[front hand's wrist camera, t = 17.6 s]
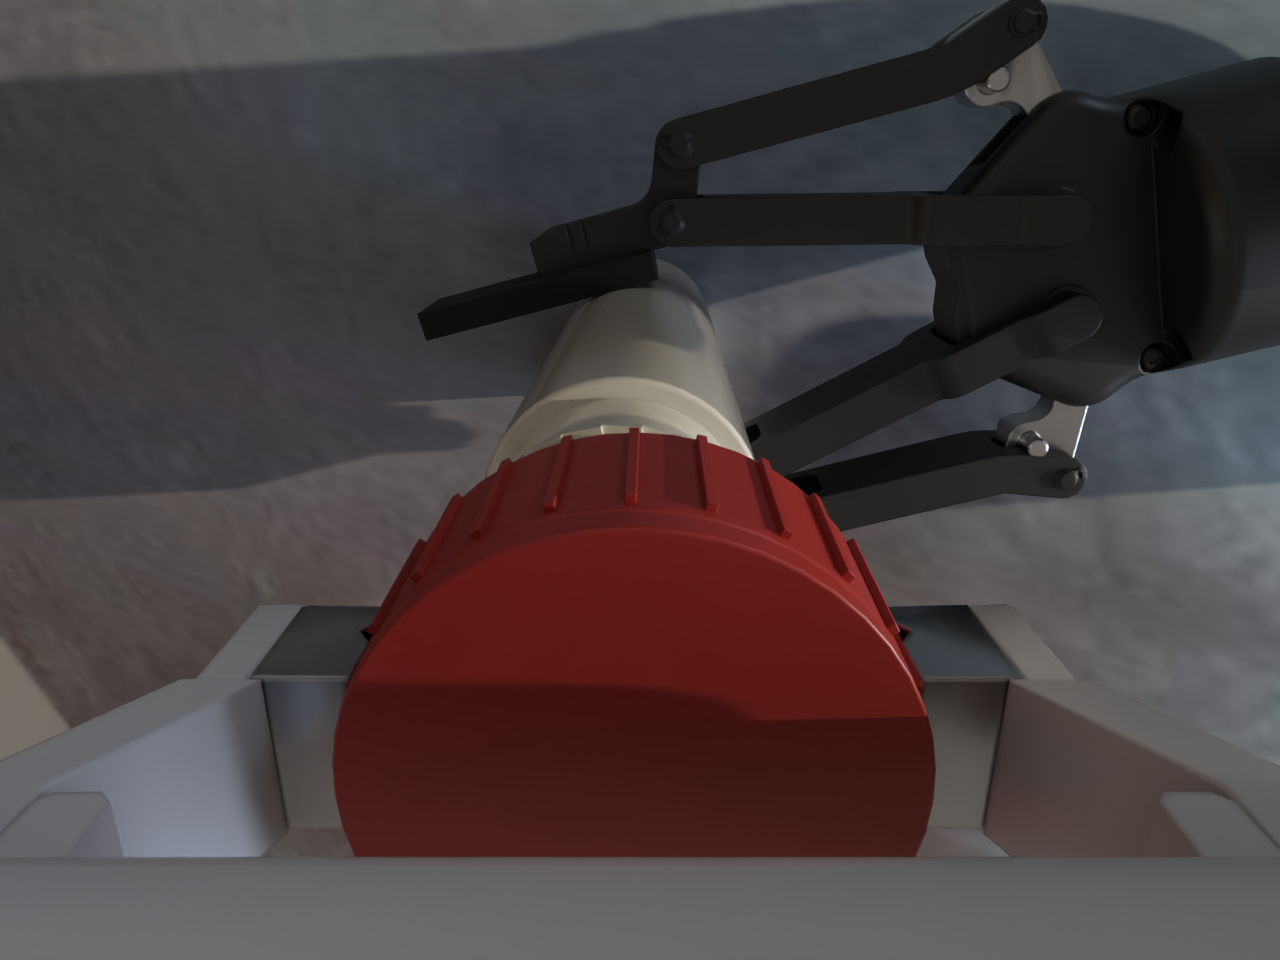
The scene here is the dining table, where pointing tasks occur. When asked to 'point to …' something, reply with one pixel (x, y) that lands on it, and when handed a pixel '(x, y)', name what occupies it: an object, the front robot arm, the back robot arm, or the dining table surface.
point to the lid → (634, 672)
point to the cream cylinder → (631, 373)
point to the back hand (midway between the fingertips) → (466, 408)
